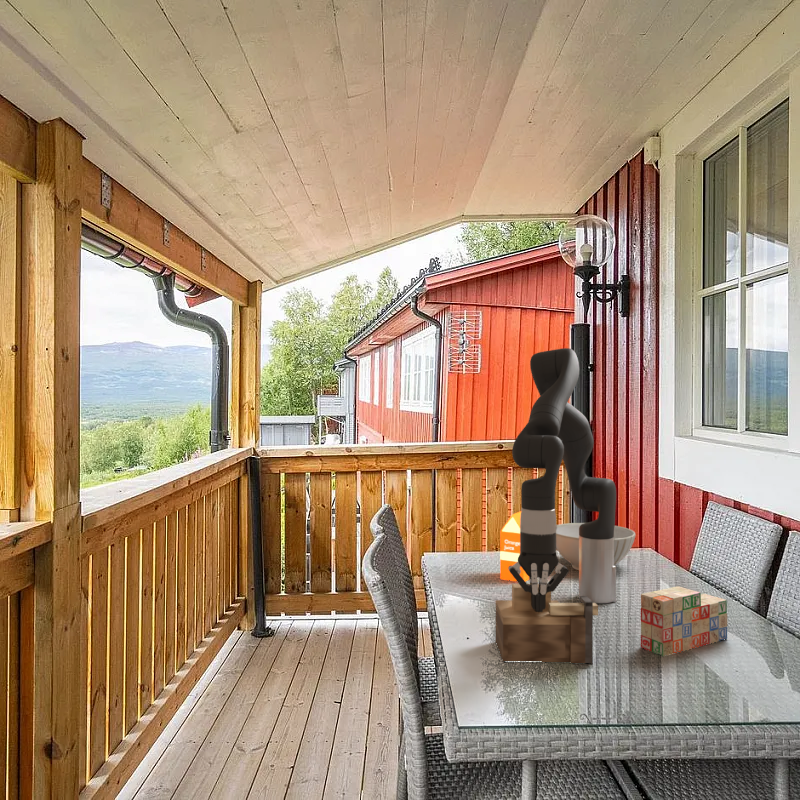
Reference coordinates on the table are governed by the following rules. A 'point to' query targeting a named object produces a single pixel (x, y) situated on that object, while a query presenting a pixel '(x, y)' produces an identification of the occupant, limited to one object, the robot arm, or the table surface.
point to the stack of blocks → (681, 620)
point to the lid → (527, 610)
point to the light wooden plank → (569, 609)
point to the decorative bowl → (570, 542)
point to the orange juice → (510, 547)
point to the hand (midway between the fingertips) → (538, 610)
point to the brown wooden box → (549, 639)
